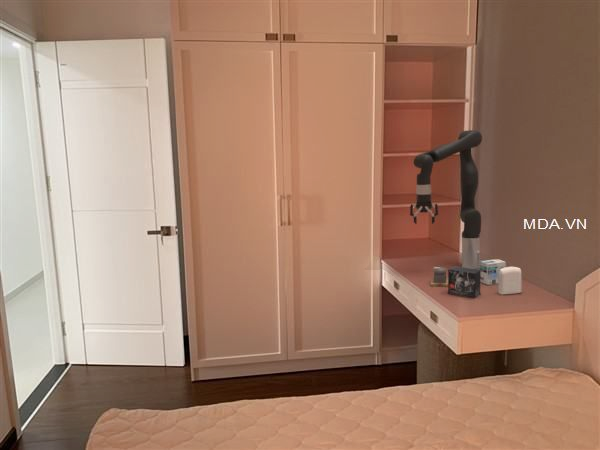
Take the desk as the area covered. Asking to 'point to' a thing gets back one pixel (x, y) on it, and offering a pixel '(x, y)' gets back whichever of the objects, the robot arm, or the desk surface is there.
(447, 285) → the shaft base
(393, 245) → the desk surface
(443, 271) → the knob
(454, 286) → the small box
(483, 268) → the light bulb box
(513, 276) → the photo printer
